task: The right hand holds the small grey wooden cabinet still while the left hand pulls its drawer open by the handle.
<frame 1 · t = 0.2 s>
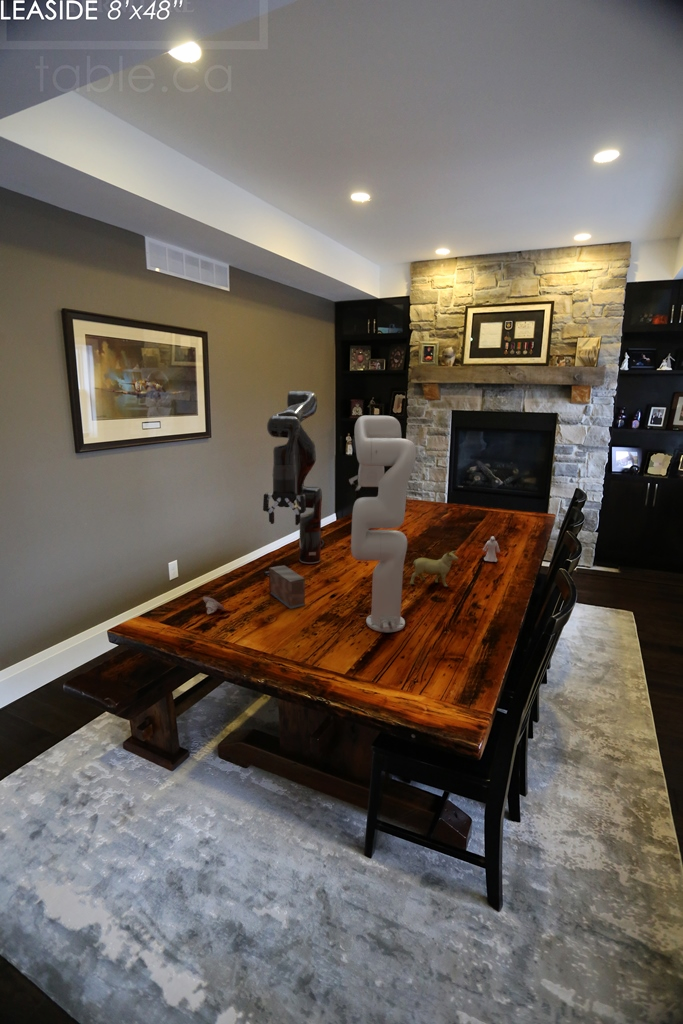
left hand: (284, 524, 170), 29 cm above the table, tool pointing down, fingers open, 8 cm apart
right hand: (370, 500, 199), 31 cm above the table, tool pointing down, fingers open, 9 cm apart
toy: (432, 585, 196), on the table
drawer: (280, 581, 183), point 5 cm above the table, slide at 1.3 cm
cabinet: (287, 599, 180), on the table
seashell: (213, 612, 169), on the table
figurine: (490, 560, 225), on the table
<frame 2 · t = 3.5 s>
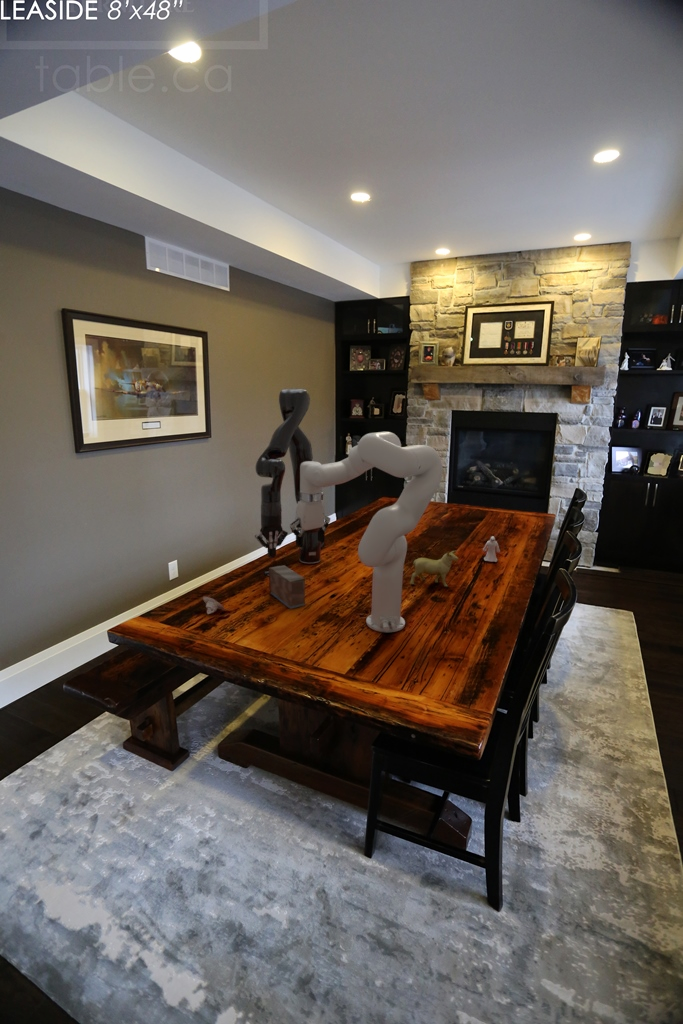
left hand: (271, 557, 187), 12 cm above the table, tool pointing down, fingers closed
right hand: (310, 543, 178), 20 cm above the table, tool pointing down, fingers open, 9 cm apart
nothing on the table moved.
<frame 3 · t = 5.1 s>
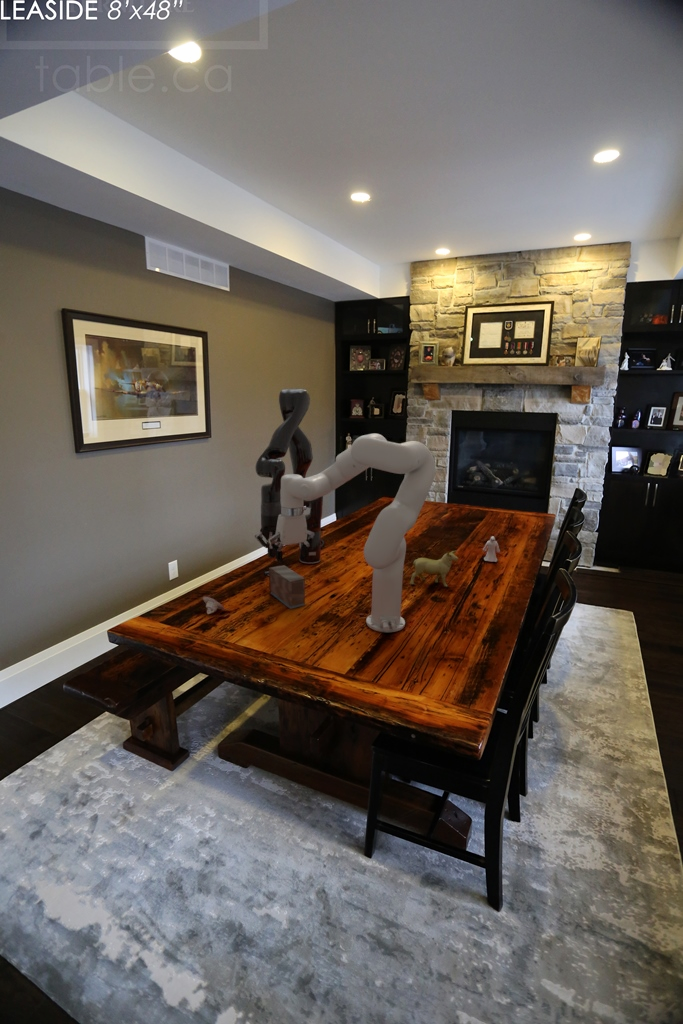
left hand: (271, 557, 187), 12 cm above the table, tool pointing down, fingers closed
right hand: (292, 558, 173), 17 cm above the table, tool pointing down, fingers open, 9 cm apart
nothing on the table moved.
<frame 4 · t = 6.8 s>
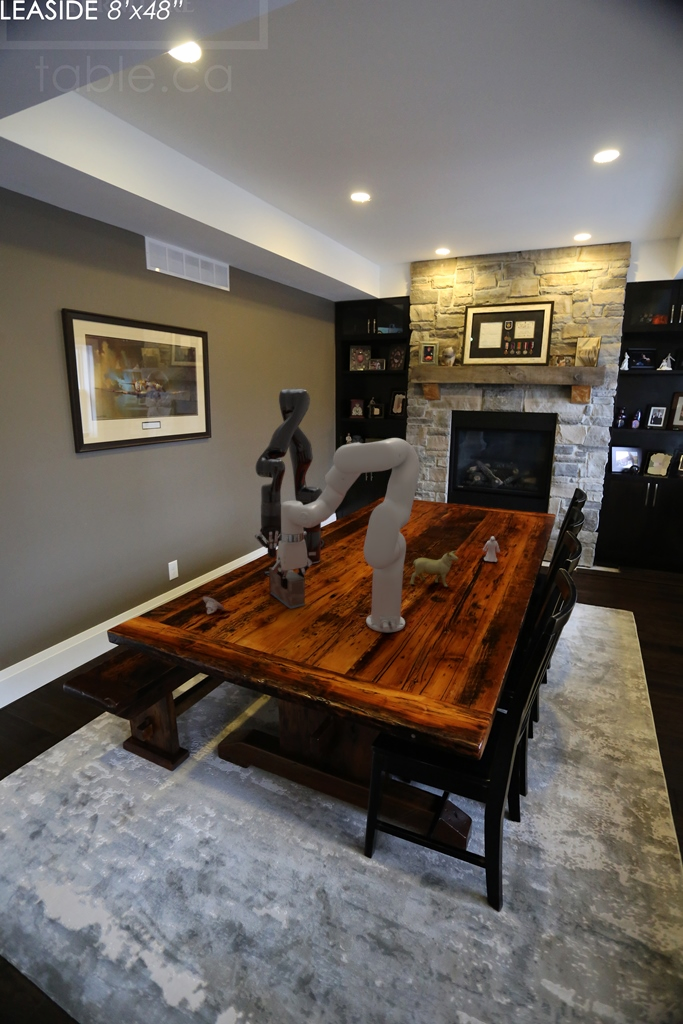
left hand: (271, 557, 187), 12 cm above the table, tool pointing down, fingers closed
right hand: (292, 585, 175), 7 cm above the table, tool pointing down, fingers closed on cabinet, 5 cm apart
cabinet: (287, 599, 180), on the table, touching right hand
everything else where it was.
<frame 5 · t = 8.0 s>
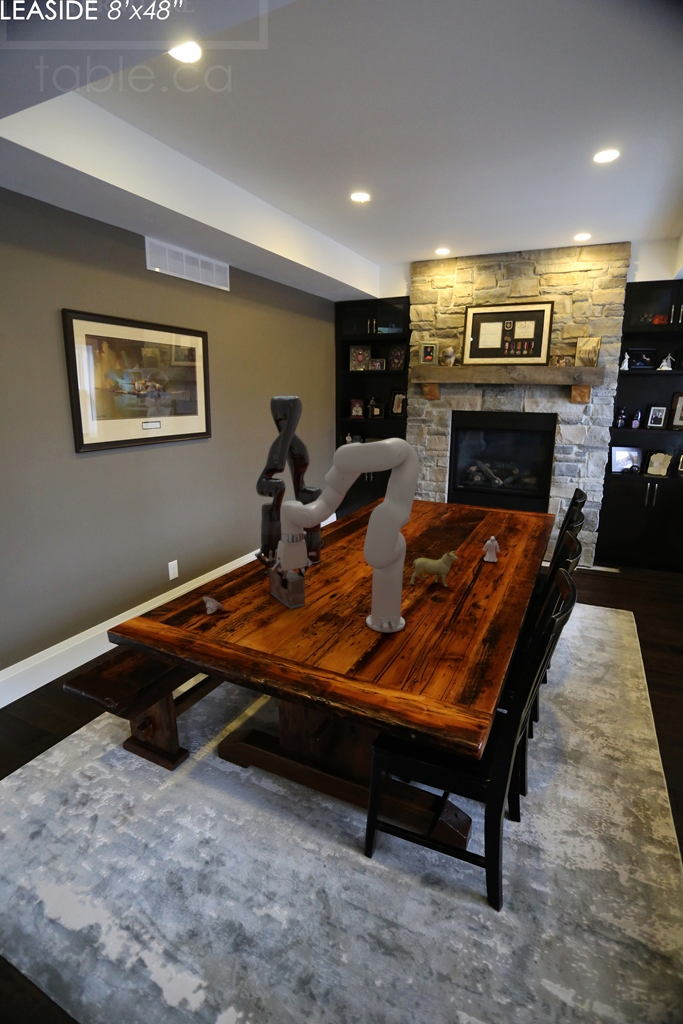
left hand: (271, 575, 189), 5 cm above the table, tool pointing down, fingers closed
right hand: (292, 585, 175), 7 cm above the table, tool pointing down, fingers closed on cabinet, 5 cm apart
drawer: (280, 581, 183), point 5 cm above the table, slide at 1.3 cm, touching left hand
cabinet: (287, 599, 180), on the table, touching right hand
everything else where it was.
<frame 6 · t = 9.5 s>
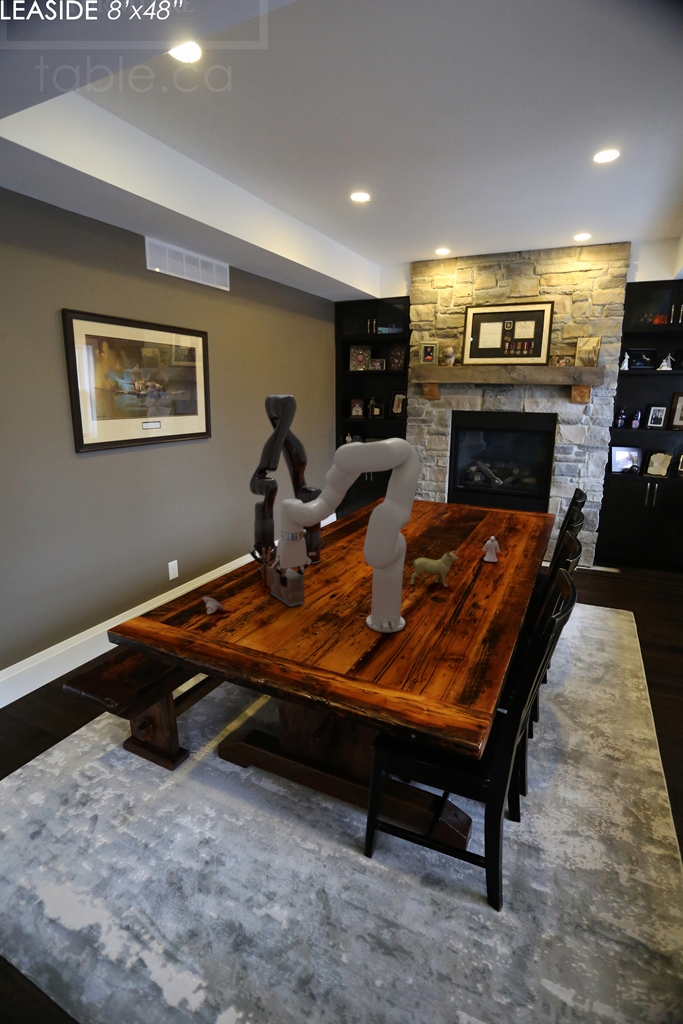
left hand: (264, 571, 194), 4 cm above the table, tool pointing down, fingers closed
right hand: (291, 583, 176), 7 cm above the table, tool pointing down, fingers closed on cabinet, 5 cm apart
drawer: (272, 576, 188), point 5 cm above the table, slide at 7.0 cm, touching left hand
cabinet: (287, 598, 180), on the table, touching right hand
everything else where it was.
when the right hand's fingers open (7 cm above the table, at t = 11.1 s): cabinet stays where it is, on the table.
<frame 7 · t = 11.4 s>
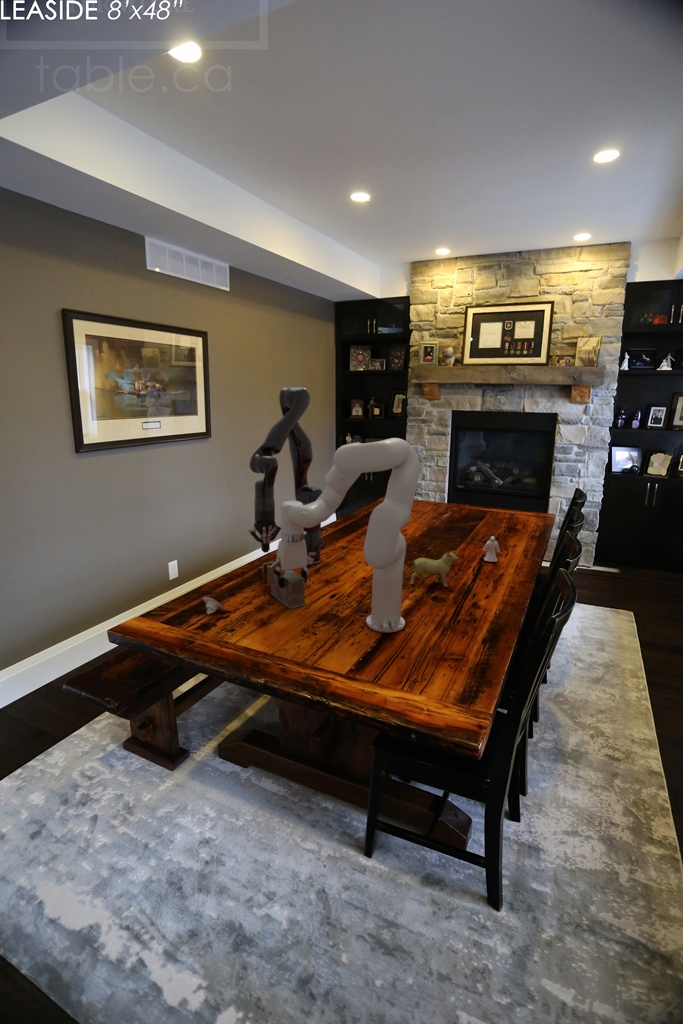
left hand: (265, 551, 191), 13 cm above the table, tool pointing down, fingers closed
right hand: (292, 584, 175), 7 cm above the table, tool pointing down, fingers open, 8 cm apart
drawer: (273, 576, 188), point 5 cm above the table, slide at 7.0 cm
cabinet: (287, 599, 180), on the table
everything else where it was.
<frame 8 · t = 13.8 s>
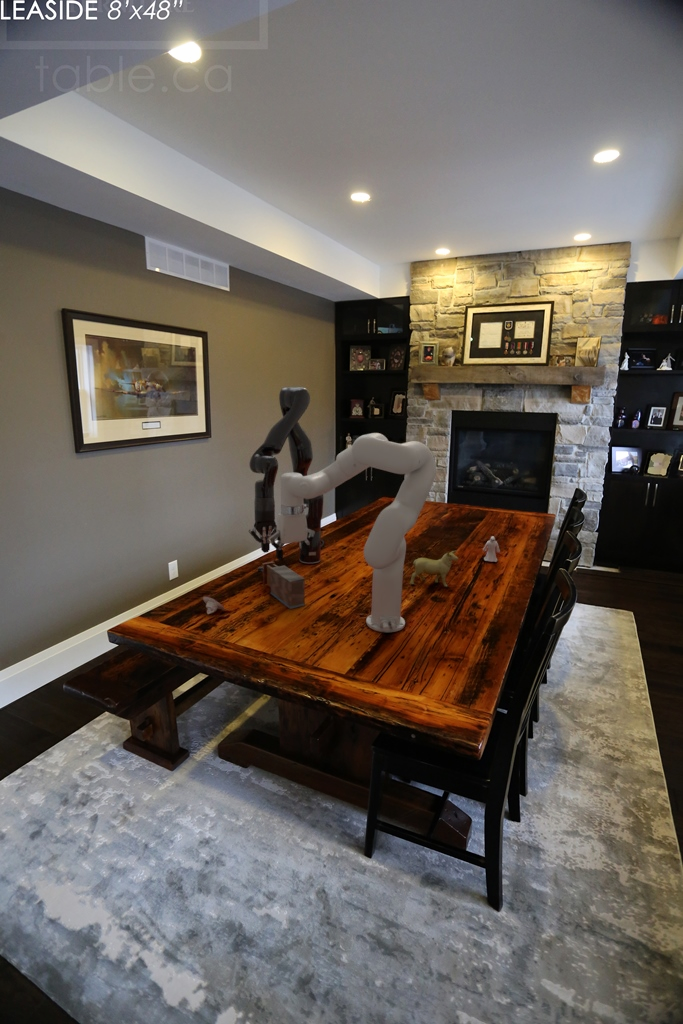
left hand: (265, 551, 191), 13 cm above the table, tool pointing down, fingers closed
right hand: (292, 557, 173), 17 cm above the table, tool pointing down, fingers open, 9 cm apart
nothing on the table moved.
at the end: drawer slide at 7.0 cm; cabinet tilted 0°; cabinet never tilted more than 4° during the clip; cabinet moved 0.1 cm from its start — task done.
